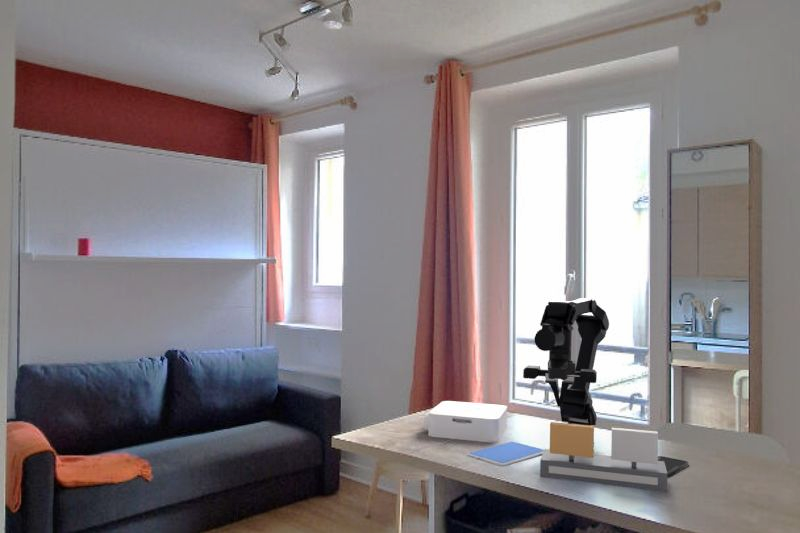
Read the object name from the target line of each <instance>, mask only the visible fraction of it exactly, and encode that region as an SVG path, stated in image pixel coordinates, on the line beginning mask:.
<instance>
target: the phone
mask: <svg viewBox="0 0 800 533" xmlns="http://www.w3.org/2000/svg"><path fill="white" fill-rule="evenodd" d="M658 461H664V463H665V466H666V470H667V478H669V477H671V476H673V475H675V474H677V473H678V472H680V471H682V470H684V469H685V468H687V467H688V466H689V461H687V460H684V459H683V460H682V459H678V458H673V457H667V456H662V455H658Z"/></svg>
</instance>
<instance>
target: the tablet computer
mask: <svg viewBox="0 0 800 533" xmlns="http://www.w3.org/2000/svg"><path fill="white" fill-rule="evenodd" d="M544 450H545V449H543V448H539V447H535V446H530V445H527V444H524V443H520V442H516V441H508V442H505V443H501V444H498V445H495V446H494V445H493V446H489V447H486V448H483V449H479V450H475V451H472V452H471V451H470V452H468V453H467V454H466V455H467V457H469V458H473V459H476V460H479V461H484V462H487V463H491V464H493V465H496V466H500V467H507V466H509V465H513V464H515V463H518V462H522V461H524V460H528V459H532V458H535V457H539V456H542V455H543V452H544Z"/></svg>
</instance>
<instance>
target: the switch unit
mask: <svg viewBox="0 0 800 533" xmlns="http://www.w3.org/2000/svg"><path fill="white" fill-rule="evenodd" d="M543 450H544V452H543V454H542V455H541V457H540V460H539V462H540V463H539V464H540V465H539V466H540V467H539V472H540V473H539V477H541V478H550V479H557V480H559V479H560V480H565V481H567V480H568V481H576V482H584V483H593V484H599V485H600V484H602V485H609V486H618V487H627V488H635V489H643V490H644V489H645V490H653V491H661V492H668V477H667V470H666V466H665V463H664V461H658V464H649V463H639V462H636V466H632V462H630V461H620V460H611V455H607V454H605V455H604V454H596V453H594V456H593V458H591V457H581V456H574V459H573V460H570V459H569V455H562V454H553V453H550V448H549V449H547V448H544V449H543Z"/></svg>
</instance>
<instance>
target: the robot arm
mask: <svg viewBox="0 0 800 533" xmlns="http://www.w3.org/2000/svg"><path fill="white" fill-rule="evenodd" d="M574 323H576V324H577V325H576V326H577V332H578V334H579V337H580V338H581V339H580V340H581V341H580V346H579V350H578V354H577V360H572V339H573V338H572V337H573V336H572V335H573V334H572V332H573V330H574V327H573V325H574ZM539 326H541V328H540V329H539V330H538V331H537V332H536V334H535V336H534V343H535V345H536V347H537V349H538V350H541V351H543V352H549V353H548V355H549V356H548V362H547V369H544V368H543V369H541V366H540V365H527V366H526V367H524V369H523V370H522V371H523V372H522V374H523V375H522V377H523V378H522V379H531V380H535V379H537V377H544V378H545V380H544V382H545V383H546V384H548V385H549V387H550V388H551V391H552V393H553V396H554V399H555V403H556V405H557V407H559V410H560V412H559V413H560V418H561V419H560V420H561V423H567V424H578V425H589V426H596V425H597V419H598V418H597V413H596V411H595V408H594V406H593V399H592V396H591V394H590V392H589V391H590V386H591V384H596V383H597V379H598V378H597V376H598V375H597V371H596V369H594V366H595V359H596V356H597V355H596V354H597V350H598V345H599V344H600V343H601V342H602V341H603V340H604V339H605V338H606V336H607V331H608V330H609V329H610V328H609V326H610V321H609V318H608V315H607V312H606V311H605V310H604V309H602V307H600V305H598V303H597V301H596V300H595V299H593V298H585V297H584V298H583V297H581V298H577V299H575V300H574V299H573V300H570V301H567V300H549V301H548V303H547V304H546V306H545V308H544V312H543V314H542V318H541V320H540V324H539ZM559 380H561V384H560V385H561V387H560V388H559ZM569 386H570V387H569Z"/></svg>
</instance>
